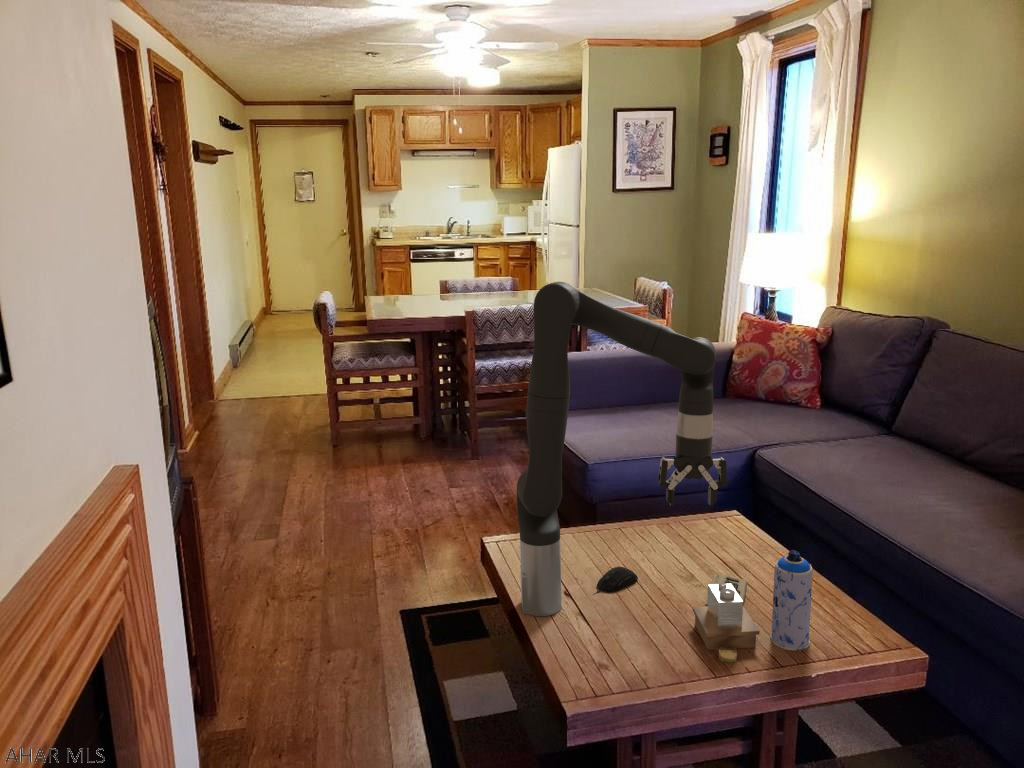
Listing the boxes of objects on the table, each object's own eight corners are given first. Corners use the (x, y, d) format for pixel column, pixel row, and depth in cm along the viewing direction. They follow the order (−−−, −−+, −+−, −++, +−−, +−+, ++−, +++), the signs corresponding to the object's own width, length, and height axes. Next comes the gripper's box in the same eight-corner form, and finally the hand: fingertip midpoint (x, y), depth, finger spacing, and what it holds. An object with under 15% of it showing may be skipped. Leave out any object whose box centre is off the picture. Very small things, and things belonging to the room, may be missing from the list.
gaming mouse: (582, 591, 188) (582, 576, 187) (623, 572, 197) (623, 558, 196) (602, 601, 183) (602, 585, 182) (642, 581, 193) (643, 566, 192)
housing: (707, 609, 169) (708, 580, 168) (730, 608, 169) (731, 579, 168) (718, 629, 161) (719, 598, 160) (742, 628, 161) (743, 597, 160)
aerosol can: (768, 629, 168) (772, 543, 164) (806, 632, 167) (811, 545, 162) (772, 648, 161) (776, 559, 156) (812, 652, 159) (817, 561, 155)
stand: (706, 651, 161) (706, 633, 160) (692, 623, 171) (692, 607, 170) (758, 648, 161) (759, 630, 160) (741, 621, 172) (742, 604, 171)
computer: (741, 620, 173) (741, 607, 172) (704, 615, 176) (704, 601, 175) (747, 588, 187) (747, 576, 186) (712, 584, 190) (713, 571, 189)
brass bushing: (721, 664, 156) (722, 655, 156) (716, 654, 159) (716, 645, 159) (739, 663, 156) (739, 654, 156) (733, 653, 160) (733, 644, 159)
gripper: (723, 427, 168) (718, 498, 172) (657, 427, 168) (654, 498, 172) (733, 437, 161) (728, 510, 164) (664, 437, 161) (661, 511, 164)
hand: (690, 504), depth 168 cm, fingers open, 8 cm apart
